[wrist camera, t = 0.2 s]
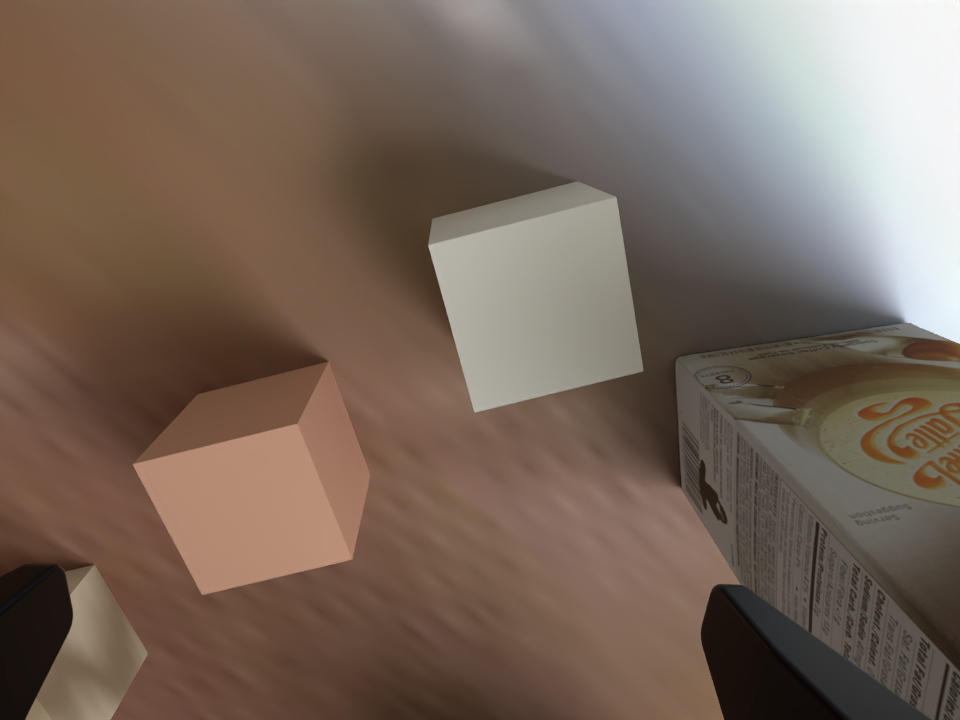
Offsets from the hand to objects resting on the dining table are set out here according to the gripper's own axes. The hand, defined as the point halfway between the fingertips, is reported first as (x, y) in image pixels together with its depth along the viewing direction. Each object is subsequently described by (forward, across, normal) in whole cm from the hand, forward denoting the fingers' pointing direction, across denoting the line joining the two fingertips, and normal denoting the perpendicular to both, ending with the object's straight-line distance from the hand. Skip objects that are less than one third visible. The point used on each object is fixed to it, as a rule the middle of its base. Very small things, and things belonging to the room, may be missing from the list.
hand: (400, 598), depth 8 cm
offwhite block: (+14, -3, -2) cm, 14 cm away
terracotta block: (+14, +5, +5) cm, 16 cm away
